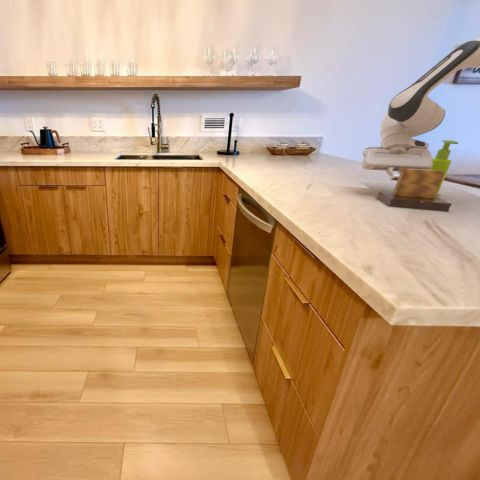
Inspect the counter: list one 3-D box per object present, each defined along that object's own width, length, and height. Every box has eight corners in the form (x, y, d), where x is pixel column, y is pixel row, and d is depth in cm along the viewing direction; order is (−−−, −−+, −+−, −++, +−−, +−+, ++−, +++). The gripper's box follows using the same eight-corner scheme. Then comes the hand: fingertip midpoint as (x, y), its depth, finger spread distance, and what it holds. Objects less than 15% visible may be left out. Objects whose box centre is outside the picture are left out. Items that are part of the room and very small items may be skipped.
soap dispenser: (424, 196, 109) (446, 141, 100) (414, 191, 115) (434, 139, 106) (442, 197, 107) (466, 141, 99) (431, 192, 113) (452, 139, 105)
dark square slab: (427, 201, 103) (431, 192, 102) (450, 214, 90) (454, 204, 89) (375, 196, 108) (378, 188, 107) (390, 208, 95) (393, 199, 94)
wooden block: (431, 197, 97) (442, 169, 93) (434, 198, 95) (445, 170, 91) (392, 194, 101) (401, 167, 97) (394, 195, 99) (404, 168, 95)
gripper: (366, 141, 106) (365, 172, 102) (434, 143, 100) (436, 176, 96) (359, 152, 112) (359, 182, 108) (423, 154, 106) (425, 186, 102)
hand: (396, 179), depth 102 cm, fingers closed
